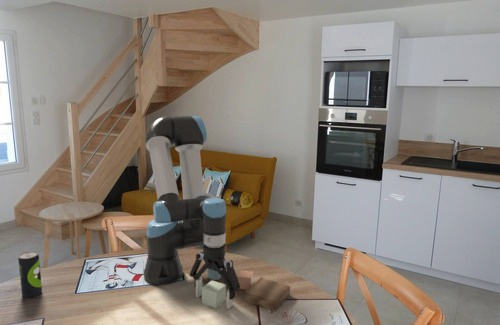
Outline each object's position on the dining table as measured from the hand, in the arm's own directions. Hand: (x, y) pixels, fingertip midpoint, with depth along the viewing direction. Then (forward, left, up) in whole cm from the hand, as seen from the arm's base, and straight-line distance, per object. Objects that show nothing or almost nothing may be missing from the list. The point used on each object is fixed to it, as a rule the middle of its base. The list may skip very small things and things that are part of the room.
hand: (214, 301), depth 131 cm
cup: (-10, +15, 0) cm, 18 cm away
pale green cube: (0, 0, 0) cm, 0 cm away
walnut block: (+15, +12, -1) cm, 19 cm away
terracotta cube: (+4, +15, 0) cm, 16 cm away
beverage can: (-58, -30, 0) cm, 65 cm away
